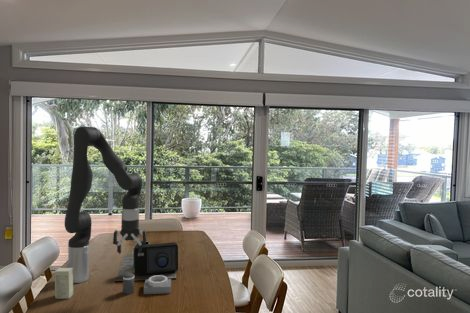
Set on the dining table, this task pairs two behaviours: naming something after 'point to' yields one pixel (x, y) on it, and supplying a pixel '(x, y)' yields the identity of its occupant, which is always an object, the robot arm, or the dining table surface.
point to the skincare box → (63, 283)
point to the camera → (156, 258)
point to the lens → (128, 283)
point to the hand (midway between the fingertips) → (129, 253)
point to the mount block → (157, 285)
